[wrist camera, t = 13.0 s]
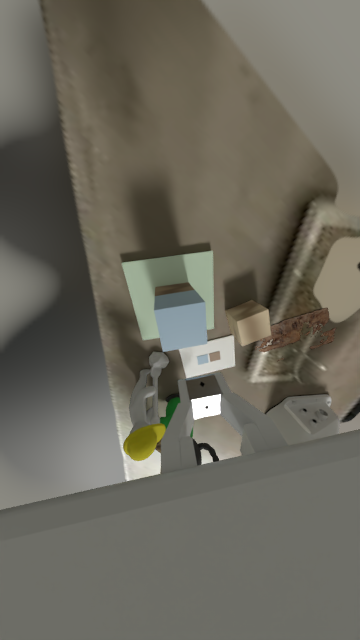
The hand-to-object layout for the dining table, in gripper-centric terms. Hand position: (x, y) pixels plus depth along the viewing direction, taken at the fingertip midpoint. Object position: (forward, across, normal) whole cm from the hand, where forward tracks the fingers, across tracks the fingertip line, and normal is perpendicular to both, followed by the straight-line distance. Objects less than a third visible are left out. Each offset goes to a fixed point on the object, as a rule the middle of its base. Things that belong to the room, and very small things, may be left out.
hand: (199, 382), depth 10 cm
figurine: (+19, +7, +16) cm, 26 cm away
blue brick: (+13, 0, 0) cm, 13 cm away
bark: (+19, -26, +14) cm, 35 cm away
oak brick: (+19, -13, +6) cm, 24 cm away
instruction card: (+19, -6, +15) cm, 25 cm away
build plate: (+19, 0, 0) cm, 19 cm away
